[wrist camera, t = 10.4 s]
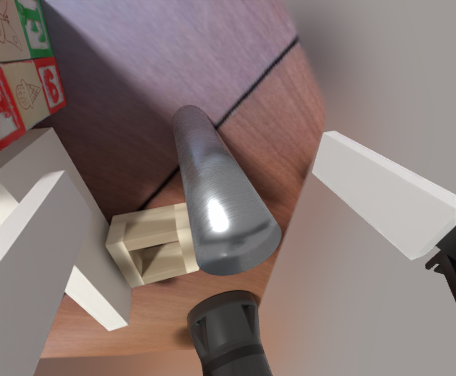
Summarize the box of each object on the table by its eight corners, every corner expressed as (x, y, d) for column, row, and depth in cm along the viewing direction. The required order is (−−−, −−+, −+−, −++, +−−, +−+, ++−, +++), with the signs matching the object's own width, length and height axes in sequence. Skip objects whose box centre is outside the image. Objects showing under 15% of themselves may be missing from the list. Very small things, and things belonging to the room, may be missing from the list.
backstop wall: (134, 268, 27) (128, 325, 22) (119, 272, 27) (109, 331, 21) (52, 127, 15) (-8, 174, 10) (21, 130, 15) (-59, 181, 9)
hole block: (194, 244, 28) (199, 270, 25) (134, 258, 26) (131, 287, 23) (187, 202, 23) (191, 227, 20) (112, 215, 21) (105, 245, 18)
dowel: (209, 138, 19) (275, 262, 8) (175, 142, 18) (201, 283, 8) (206, 103, 17) (288, 206, 6) (168, 107, 16) (189, 229, 6)
